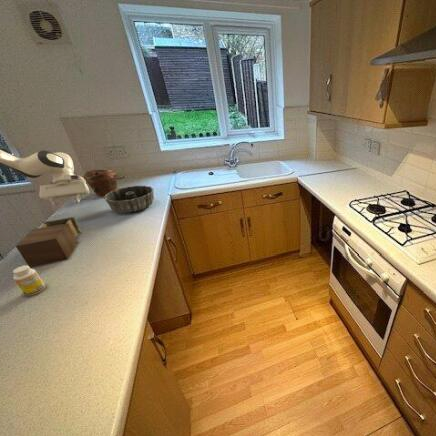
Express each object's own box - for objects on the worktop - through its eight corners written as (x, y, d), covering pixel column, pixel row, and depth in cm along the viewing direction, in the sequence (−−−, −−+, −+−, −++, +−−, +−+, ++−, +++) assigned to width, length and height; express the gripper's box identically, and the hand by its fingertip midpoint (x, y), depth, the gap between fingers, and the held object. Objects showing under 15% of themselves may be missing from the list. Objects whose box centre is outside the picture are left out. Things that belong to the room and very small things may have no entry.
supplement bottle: (27, 288, 89) (12, 267, 84) (47, 283, 91) (33, 261, 87) (22, 298, 85) (6, 276, 80) (43, 292, 87) (29, 270, 82)
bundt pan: (165, 204, 156) (161, 190, 151) (122, 220, 136) (115, 204, 132) (144, 196, 169) (140, 182, 164) (102, 209, 150) (96, 194, 145)
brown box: (44, 249, 112) (32, 229, 107) (78, 242, 116) (68, 223, 111) (29, 267, 100) (15, 246, 95) (67, 259, 105) (56, 238, 100)
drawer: (56, 233, 123) (47, 217, 119) (83, 228, 127) (76, 213, 123) (41, 251, 108) (31, 234, 104) (73, 245, 113) (64, 228, 109)
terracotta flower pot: (94, 191, 178) (84, 168, 170) (125, 187, 185) (117, 164, 176) (86, 200, 163) (75, 175, 155) (120, 195, 170) (111, 171, 162)
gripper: (35, 181, 123) (36, 205, 120) (84, 175, 131) (86, 198, 127) (43, 186, 129) (45, 209, 126) (89, 180, 136) (92, 202, 133)
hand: (66, 204), depth 127 cm, fingers open, 8 cm apart
